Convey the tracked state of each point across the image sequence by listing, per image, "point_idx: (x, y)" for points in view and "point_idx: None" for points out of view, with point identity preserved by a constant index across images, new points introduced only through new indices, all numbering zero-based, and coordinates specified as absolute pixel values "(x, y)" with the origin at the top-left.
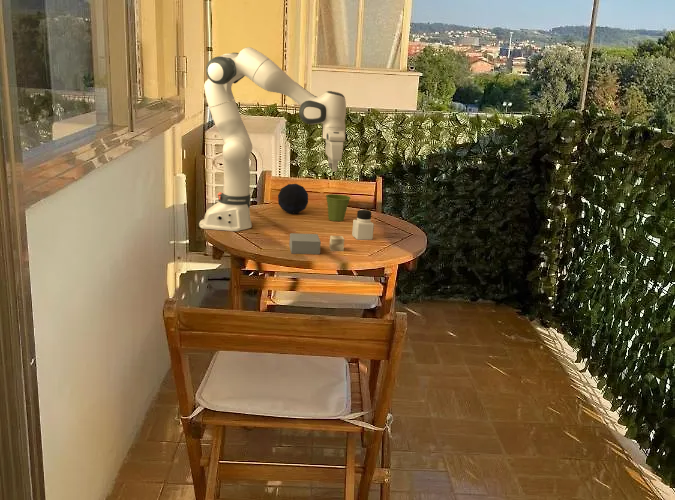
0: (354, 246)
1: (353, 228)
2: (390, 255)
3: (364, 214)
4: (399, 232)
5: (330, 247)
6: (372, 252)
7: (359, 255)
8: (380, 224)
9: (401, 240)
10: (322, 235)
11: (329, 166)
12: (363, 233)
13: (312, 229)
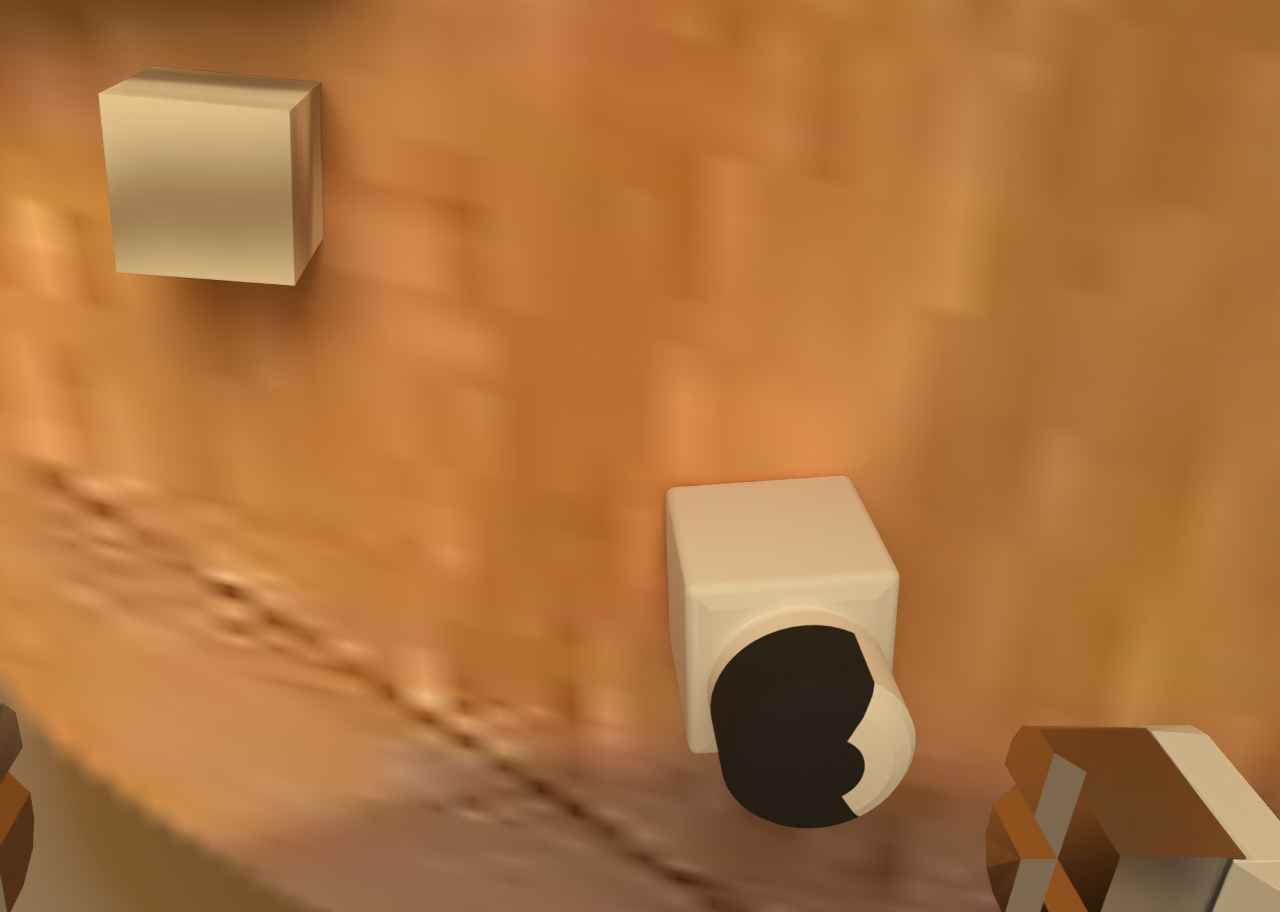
0: (395, 399)
1: (835, 520)
2: (104, 670)
3: (725, 730)
4: (917, 906)
5: (205, 76)
6: (181, 531)
7: (29, 372)
8: None
9: (646, 866)
10: (875, 117)
11: (1041, 755)
12: (673, 584)
13: (1178, 41)
